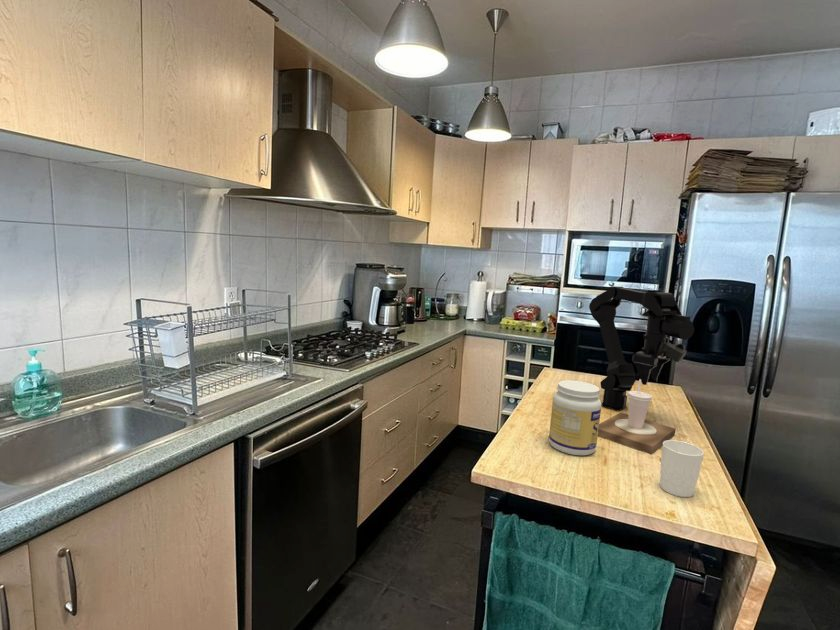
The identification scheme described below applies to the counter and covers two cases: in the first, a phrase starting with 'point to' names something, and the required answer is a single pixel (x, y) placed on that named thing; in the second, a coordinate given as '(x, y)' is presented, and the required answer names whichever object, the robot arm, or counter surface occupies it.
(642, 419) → the smoothie
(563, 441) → the supplement tub
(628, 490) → the counter surface
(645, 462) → the counter surface
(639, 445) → the walnut base
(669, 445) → the white cup
